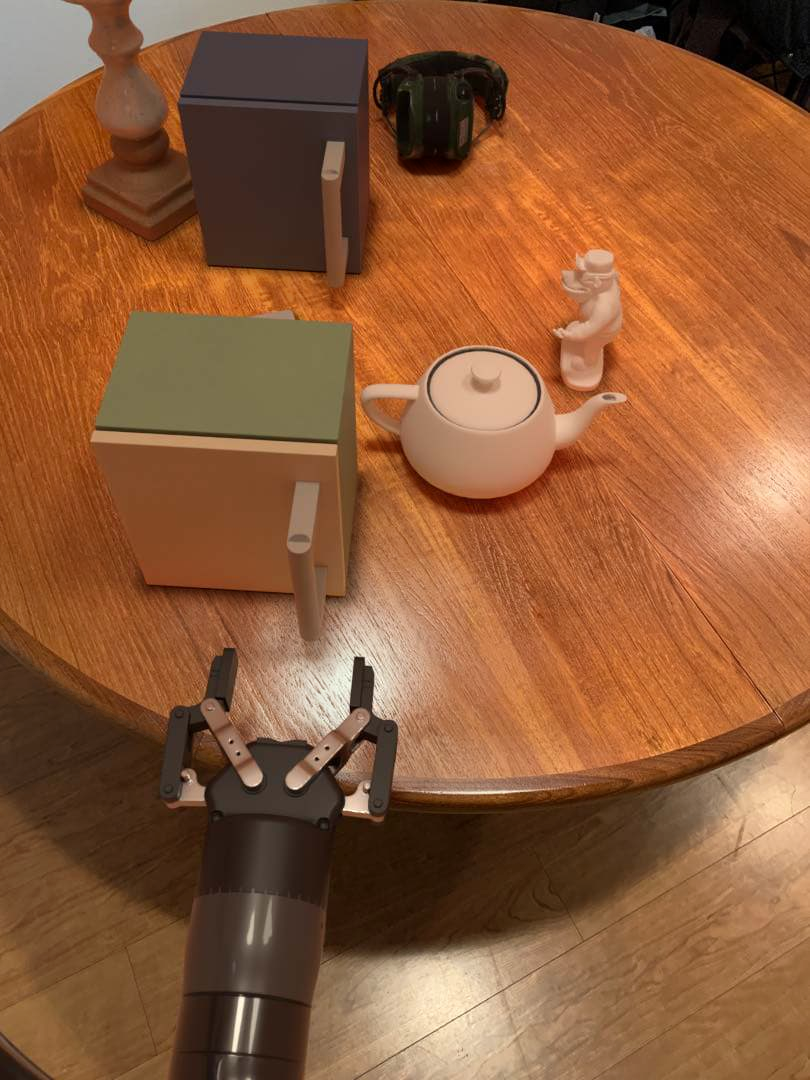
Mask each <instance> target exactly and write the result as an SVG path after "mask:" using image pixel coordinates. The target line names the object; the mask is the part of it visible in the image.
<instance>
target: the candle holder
mask: <svg viewBox="0 0 810 1080" xmlns="http://www.w3.org/2000/svg"><path fill="white" fill-rule="evenodd" d="M61 1H62V2H64V3H69V4H72V5H78V6H80V7H82V8H84V9H85V10H86V11H87V13H88V14H89V16H90V18H91V21H92V22H91V26H92V27H91V30H90V33H89V35H88V38H87V45H88V47H89V48H90V50H92V51H93V52H94V53H95V55H96V56H97V57H98V58H99V59H100V60H101V61H102V63H103V66H104V67H103V74H102V78H101V81H100V83H99V86H98V89H97V92H96V96H95V99H94V111H95V116H96V119H97V122H98V123H99V124H100V126H101V127H102V128H103V129H104V130H105V131H106V132H108V133H109V134H111V135H110V138H109V146H110V149H111V151H112V154H113V157H110V159H108V160H107V161H105V162H104V163H101V164H100V165H99V166H98V167H96V168H95V169H93V170H91V171H90V172H89V173H88V175H87V177H86V180H87V183H85V184H84V185H82V187H80V193H81V196H82V199H83V203H84V204H85V205H86V206H87V207H89V208H91V209H92V210H93V211H95V212H97V213H99V214H101V215H102V216H104V217H106V218H108V219H109V220H111V221H113V222H114V223H116V224H118V225H120V226H122V227H123V228H125V229H127V230H128V231H130V232H131V233H134V234H135V235H137V236H139V237H140V238H143V239H145V240H147V241H150V242H153V241H156V240H158V239H160V238H161V237H163V236H164V235H166V234H168V233H169V232H170V231H172V230H173V229H174V228H176V227H177V226H179V225H180V224H182V223H183V222H185V221H186V220H188V219H189V218H191V217H192V216H193V215H195V214H196V213H198V211H197V205H196V200H195V195H194V190H193V184H192V179H191V174H190V169H189V163H188V158H187V154H186V155H185V154H183V153H182V152H181V151H179V150H176V149H174V148H173V147H170V144H171V141H170V140H171V139H170V136H169V133H168V131H167V130H166V128H165V127H164V126H165V125H166V123H167V120H168V118H169V114H170V113H169V112H170V107H169V102H168V99H167V96H166V95H165V93H164V91H163V90H162V88H161V87H160V86H159V84H158V83H157V82H156V81H155V80H154V79H153V78H152V77H151V76H150V75H149V73H147V72H146V71H145V69H144V68H143V66H142V65H141V63H140V61H139V54H140V52H141V47H142V46H143V45H144V42H145V41H144V40H145V38H144V34H143V32H142V31H141V29H140V28H138V27H137V25H136V24H134V22H133V21H132V19H131V16H130V6H131V4H132V2H133V0H61Z"/></svg>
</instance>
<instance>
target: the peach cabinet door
mask: <svg viewBox="0 0 810 1080" xmlns="http://www.w3.org/2000/svg"><path fill="white" fill-rule="evenodd" d="M89 442H90V443H89V444H90V445H91V448H92V450H93V453H94V456H95V458H96V461H97V463H98V465H99V468H100V470H101V473H102V475H103V478H104V480H105V483H106V486H107V488H108V491H109V493H110V495H111V498H112V501H113V503H114V505H115V508H116V510H117V513H118V516H119V518H120V520H121V523H122V525H123V527H124V530H125V533H126V536H127V538H128V541H129V544H130V545H131V548H132V551H133V553H134V556H135V558H136V561H137V563H138V566H139V568H140V571H141V574H142V575H143V578H144V581H145V583H146V585H149V586H150V585H151V586H152V585H153V586H167V587H182V588H183V587H184V588H185V587H186V588H200V589H201V588H203V589H215V590H217V589H219V590H235V591H251V592H252V591H253V592H267V593H282V594H283V593H284V594H293V597H294V604H295V612H296V617H297V624H298V632H299V636H300V638H301V640H303V641H304V642H307V643H313V642H316V641H318V640H319V639H320V637H321V636H322V632H323V631H322V630H323V623H324V615H325V608H326V607H325V606H326V599H327V598H326V597H327V596H334V597H345V596H346V589H347V583H346V580H345V563H344V546H343V529H342V512H341V495H340V478H339V461H338V446H337V445H336V444H320V443H303V442H285V441H268V440H251V439H234V438H216V437H199V436H182V435H165V434H148V433H130V432H113V431H96V429H95V430H93V431H92V434H91V437H90V440H89Z"/></svg>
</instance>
